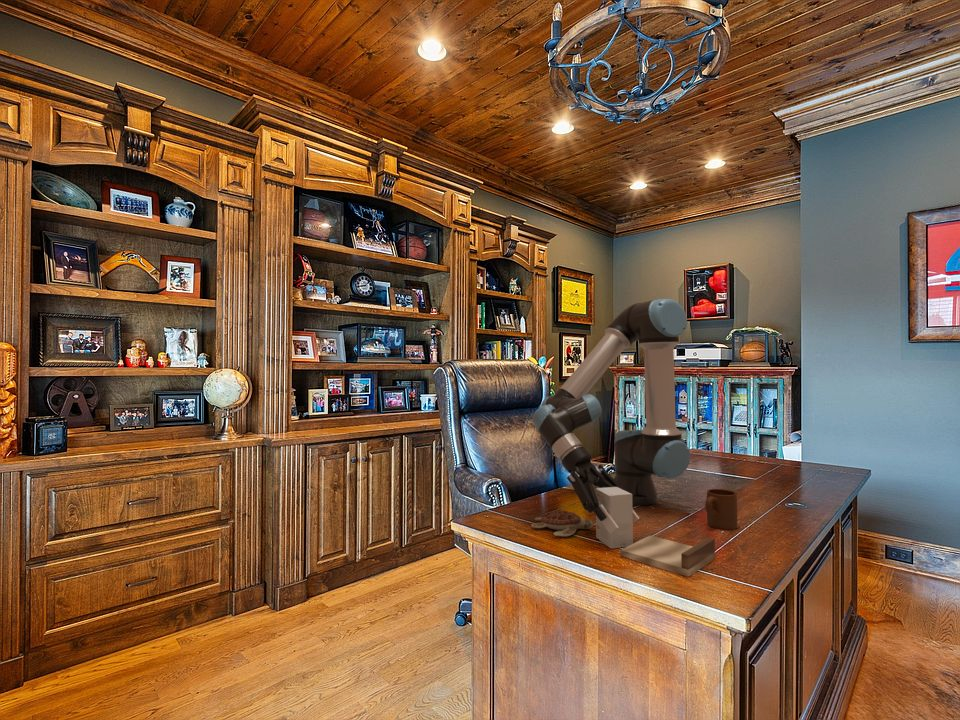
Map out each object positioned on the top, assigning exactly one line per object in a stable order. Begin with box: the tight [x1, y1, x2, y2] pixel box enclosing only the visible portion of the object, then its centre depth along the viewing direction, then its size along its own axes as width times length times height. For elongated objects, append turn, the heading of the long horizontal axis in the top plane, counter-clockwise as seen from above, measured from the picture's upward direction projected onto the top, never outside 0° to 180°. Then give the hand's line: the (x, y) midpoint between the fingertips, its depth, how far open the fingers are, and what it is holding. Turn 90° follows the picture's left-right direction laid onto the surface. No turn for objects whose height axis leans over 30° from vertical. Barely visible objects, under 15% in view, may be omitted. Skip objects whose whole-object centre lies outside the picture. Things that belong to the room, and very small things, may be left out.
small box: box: [595, 487, 634, 549], centre depth 126 cm, size 8×6×13 cm
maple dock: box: [620, 535, 716, 578], centre depth 116 cm, size 16×14×4 cm
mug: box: [704, 488, 738, 531], centre depth 137 cm, size 12×8×9 cm, turn 129°
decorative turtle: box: [531, 510, 594, 537], centre depth 138 cm, size 18×17×5 cm
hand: (625, 525), depth 124 cm, fingers closed on small box, 9 cm apart
